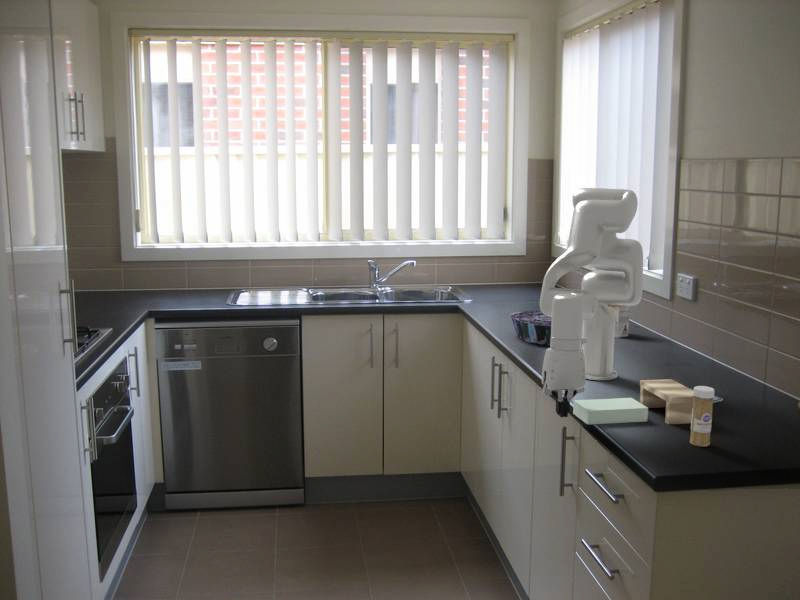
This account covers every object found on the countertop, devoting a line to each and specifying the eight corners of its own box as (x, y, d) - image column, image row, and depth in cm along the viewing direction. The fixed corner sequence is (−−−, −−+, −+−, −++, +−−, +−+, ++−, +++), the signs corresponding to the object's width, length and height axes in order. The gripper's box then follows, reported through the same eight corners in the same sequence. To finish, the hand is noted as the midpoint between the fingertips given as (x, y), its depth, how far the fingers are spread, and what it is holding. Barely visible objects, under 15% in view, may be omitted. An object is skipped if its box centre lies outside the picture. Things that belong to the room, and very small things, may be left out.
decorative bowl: (561, 335, 321) (561, 308, 320) (600, 345, 295) (601, 317, 294) (499, 338, 313) (499, 311, 312) (534, 349, 287) (534, 320, 286)
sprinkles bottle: (699, 448, 193) (703, 391, 191) (685, 442, 197) (689, 386, 195) (714, 445, 195) (719, 389, 193) (700, 439, 199) (704, 384, 197)
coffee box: (598, 333, 316) (600, 290, 313) (610, 331, 319) (612, 289, 317) (617, 338, 308) (620, 294, 306) (629, 336, 312) (632, 293, 309)
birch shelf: (638, 405, 225) (640, 380, 224) (669, 404, 227) (671, 379, 226) (669, 424, 210) (671, 397, 209) (702, 423, 212) (704, 396, 210)
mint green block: (573, 413, 218) (573, 400, 217) (630, 410, 221) (631, 397, 220) (587, 424, 209) (588, 410, 208) (647, 421, 212) (648, 407, 212)
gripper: (587, 340, 214) (583, 409, 217) (531, 341, 211) (528, 412, 214) (600, 346, 207) (596, 418, 210) (542, 348, 204) (539, 421, 207)
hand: (562, 415), depth 212 cm, fingers closed
